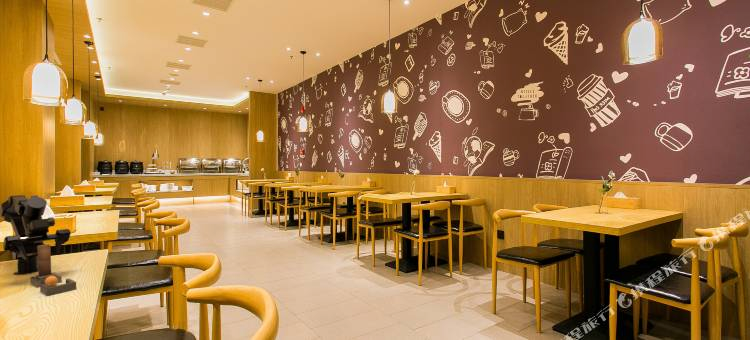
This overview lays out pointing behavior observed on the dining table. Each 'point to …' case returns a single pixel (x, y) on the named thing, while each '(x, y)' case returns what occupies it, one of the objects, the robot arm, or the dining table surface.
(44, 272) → the slider
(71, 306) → the dining table surface
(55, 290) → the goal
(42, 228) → the robot arm
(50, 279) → the ball
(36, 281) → the track
